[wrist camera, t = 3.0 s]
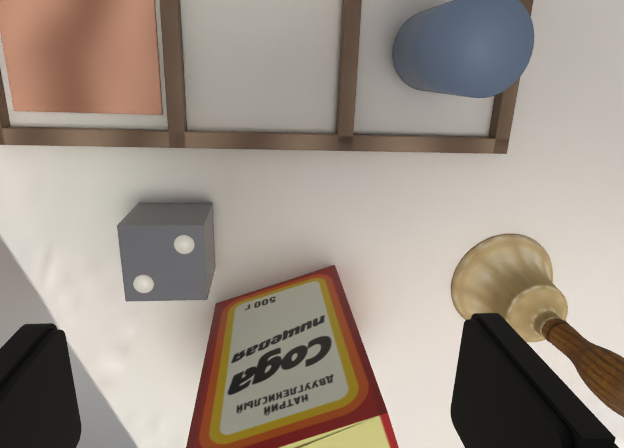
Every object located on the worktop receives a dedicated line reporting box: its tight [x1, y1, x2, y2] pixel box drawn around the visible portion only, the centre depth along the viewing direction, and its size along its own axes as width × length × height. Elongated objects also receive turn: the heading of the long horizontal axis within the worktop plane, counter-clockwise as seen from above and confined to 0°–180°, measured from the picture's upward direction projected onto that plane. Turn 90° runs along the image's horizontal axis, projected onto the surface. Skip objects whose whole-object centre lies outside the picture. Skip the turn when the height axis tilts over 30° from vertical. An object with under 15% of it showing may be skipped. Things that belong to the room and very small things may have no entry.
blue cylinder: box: [393, 0, 534, 98], centre depth 26 cm, size 5×5×8 cm
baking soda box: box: [186, 265, 399, 448], centre depth 28 cm, size 10×6×16 cm
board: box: [0, 0, 533, 154], centre depth 28 cm, size 34×13×1 cm, turn 88°
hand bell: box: [451, 234, 624, 417], centre depth 29 cm, size 8×8×16 cm
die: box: [117, 202, 215, 301], centre depth 30 cm, size 5×5×5 cm
